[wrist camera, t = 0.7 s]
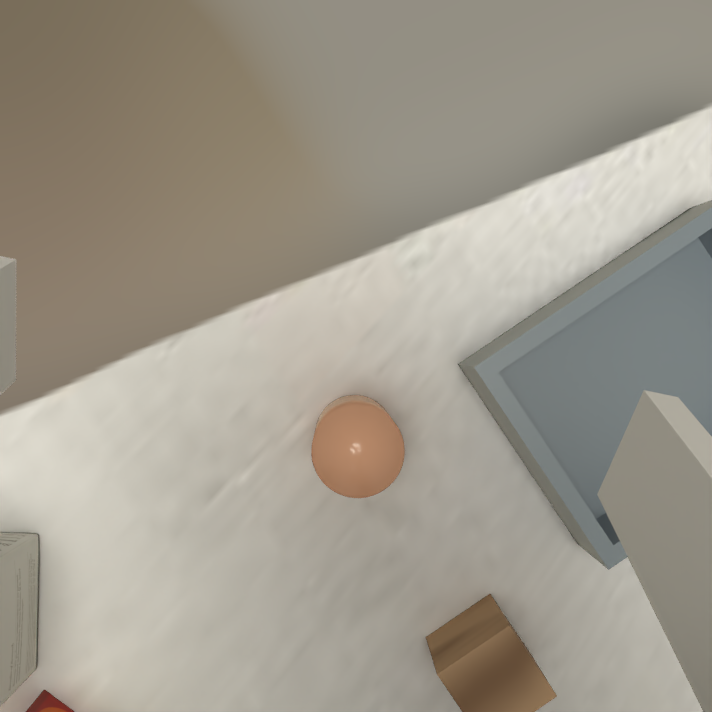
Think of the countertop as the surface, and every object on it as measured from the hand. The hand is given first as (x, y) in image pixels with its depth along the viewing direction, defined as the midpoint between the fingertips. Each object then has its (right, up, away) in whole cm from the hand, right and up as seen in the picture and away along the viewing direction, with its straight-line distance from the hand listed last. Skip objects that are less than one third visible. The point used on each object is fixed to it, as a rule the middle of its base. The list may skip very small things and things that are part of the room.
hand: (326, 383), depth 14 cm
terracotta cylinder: (+1, -4, +29) cm, 30 cm away
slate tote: (+19, -1, +30) cm, 35 cm away
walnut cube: (+9, -18, +30) cm, 36 cm away
